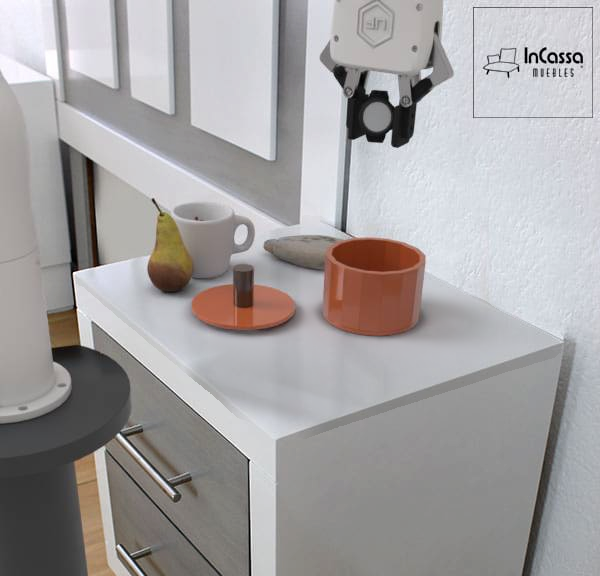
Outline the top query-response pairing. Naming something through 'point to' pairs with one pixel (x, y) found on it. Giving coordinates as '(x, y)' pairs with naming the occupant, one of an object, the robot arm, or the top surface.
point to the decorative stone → (301, 249)
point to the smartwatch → (376, 116)
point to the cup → (210, 235)
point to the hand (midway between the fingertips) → (378, 139)
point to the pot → (373, 285)
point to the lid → (243, 303)
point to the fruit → (169, 256)
